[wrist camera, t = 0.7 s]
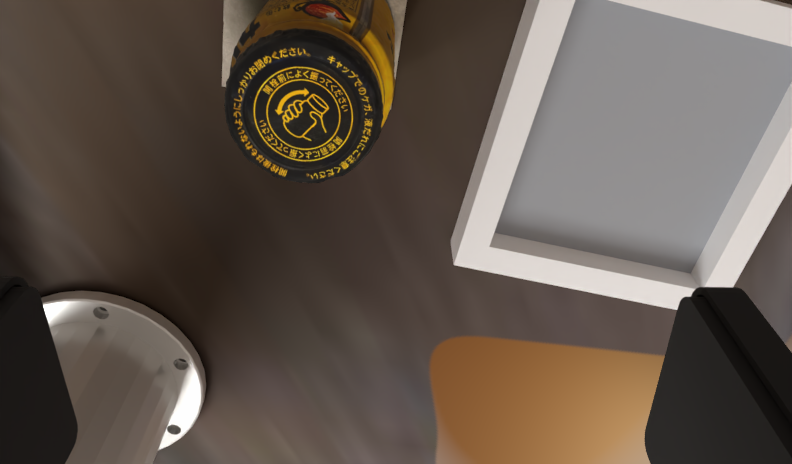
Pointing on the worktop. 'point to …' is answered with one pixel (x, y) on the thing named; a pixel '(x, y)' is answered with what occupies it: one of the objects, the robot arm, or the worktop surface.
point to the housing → (633, 147)
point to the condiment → (309, 81)
